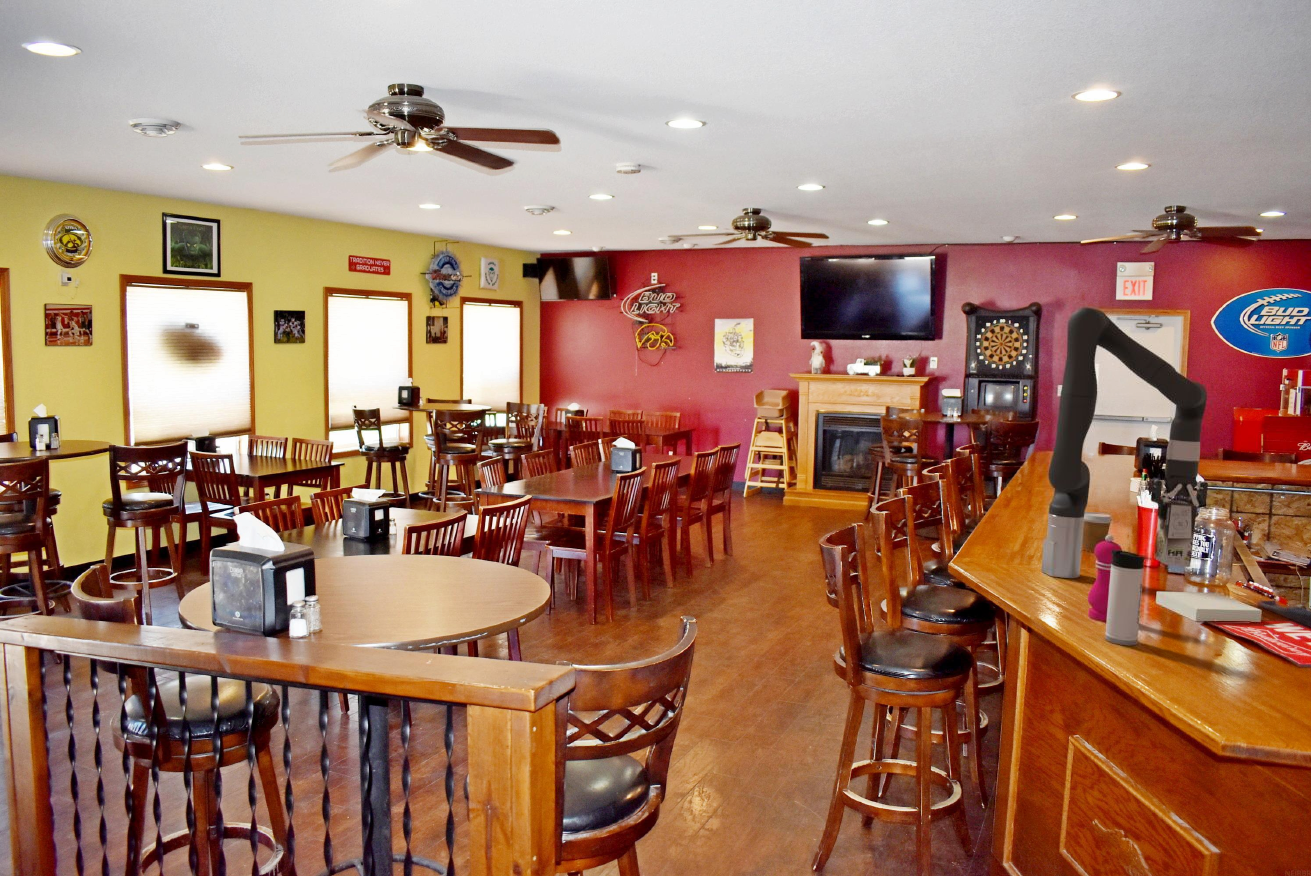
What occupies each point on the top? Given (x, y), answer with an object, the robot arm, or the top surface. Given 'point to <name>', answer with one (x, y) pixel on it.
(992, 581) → the top surface
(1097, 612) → the pepper mill
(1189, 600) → the plinth
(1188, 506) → the coffee box
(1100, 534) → the disposable coffee cup
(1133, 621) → the travel mug
